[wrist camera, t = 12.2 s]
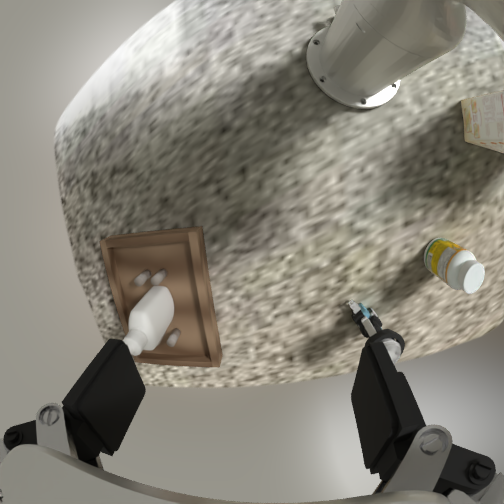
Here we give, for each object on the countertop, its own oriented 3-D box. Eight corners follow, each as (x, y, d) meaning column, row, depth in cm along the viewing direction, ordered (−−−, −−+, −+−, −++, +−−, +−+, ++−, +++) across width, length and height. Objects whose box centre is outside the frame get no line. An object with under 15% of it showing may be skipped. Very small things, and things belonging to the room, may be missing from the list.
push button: (334, 311, 36) (352, 354, 27) (363, 286, 35) (390, 324, 25) (360, 336, 37) (380, 379, 28) (386, 313, 36) (414, 353, 26)
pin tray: (110, 235, 35) (93, 244, 31) (202, 226, 34) (192, 234, 29) (142, 351, 41) (131, 367, 36) (222, 354, 40) (217, 373, 35)
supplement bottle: (416, 257, 33) (453, 283, 24) (437, 229, 32) (478, 248, 23) (434, 278, 34) (469, 306, 25) (454, 251, 32) (492, 273, 23)
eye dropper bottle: (144, 310, 36) (105, 359, 25) (155, 279, 35) (113, 325, 23) (170, 324, 37) (138, 379, 25) (183, 294, 35) (150, 348, 24)
